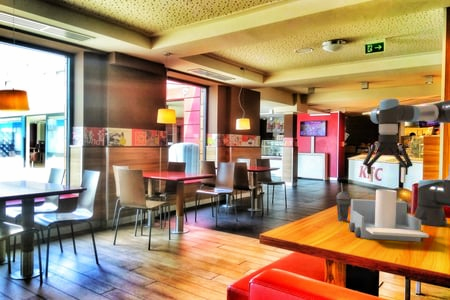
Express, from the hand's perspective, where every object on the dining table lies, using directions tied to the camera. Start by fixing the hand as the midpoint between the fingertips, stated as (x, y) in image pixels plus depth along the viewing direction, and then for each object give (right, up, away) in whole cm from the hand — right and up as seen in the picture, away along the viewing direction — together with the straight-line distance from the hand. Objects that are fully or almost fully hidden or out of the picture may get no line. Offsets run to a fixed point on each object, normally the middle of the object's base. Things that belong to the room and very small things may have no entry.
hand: (386, 182), depth 146 cm
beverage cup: (-10, -23, +27) cm, 37 cm away
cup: (-1, -20, 0) cm, 20 cm away
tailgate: (-2, -19, -8) cm, 21 cm away
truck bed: (-1, -24, +2) cm, 24 cm away
